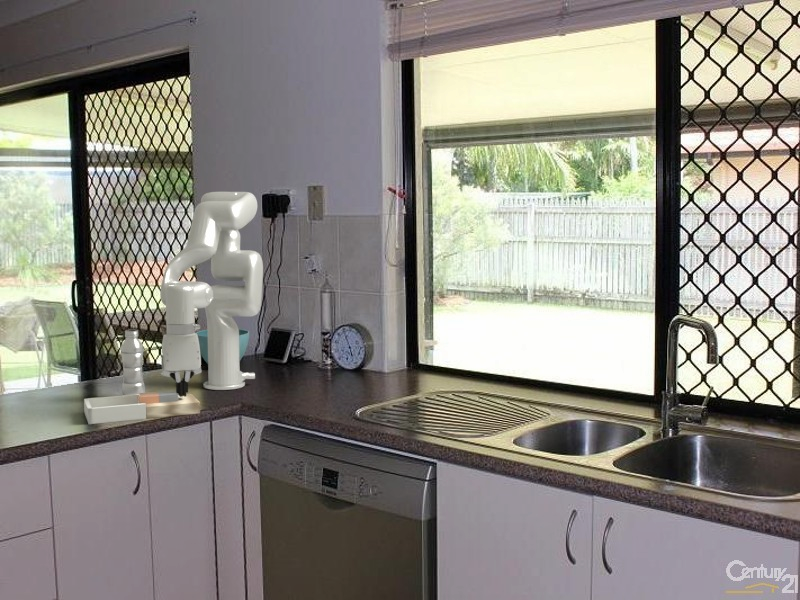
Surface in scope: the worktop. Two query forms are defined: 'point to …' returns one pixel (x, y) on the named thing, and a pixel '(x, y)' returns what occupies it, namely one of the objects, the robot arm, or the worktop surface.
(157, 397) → the terracotta tile
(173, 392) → the slate tile
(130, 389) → the plastic bottle
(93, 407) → the box
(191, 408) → the plate
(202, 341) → the teal bowl
